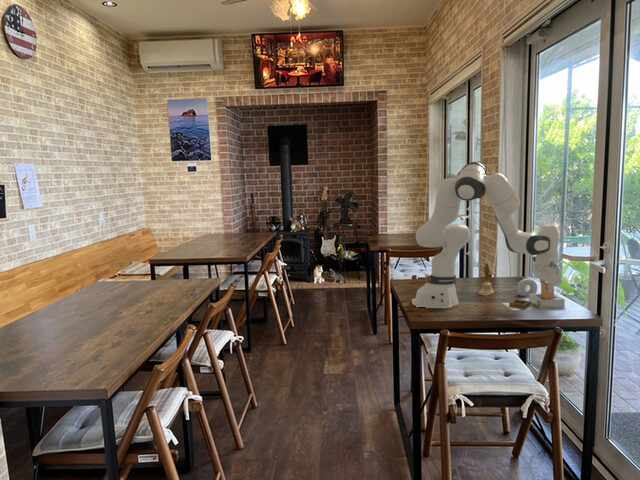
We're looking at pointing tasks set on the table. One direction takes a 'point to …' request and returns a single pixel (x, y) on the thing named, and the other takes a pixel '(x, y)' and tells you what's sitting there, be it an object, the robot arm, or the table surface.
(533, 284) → the donut
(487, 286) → the hand bell
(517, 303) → the peg holder
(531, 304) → the board
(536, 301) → the socket block
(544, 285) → the peg
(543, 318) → the table surface
